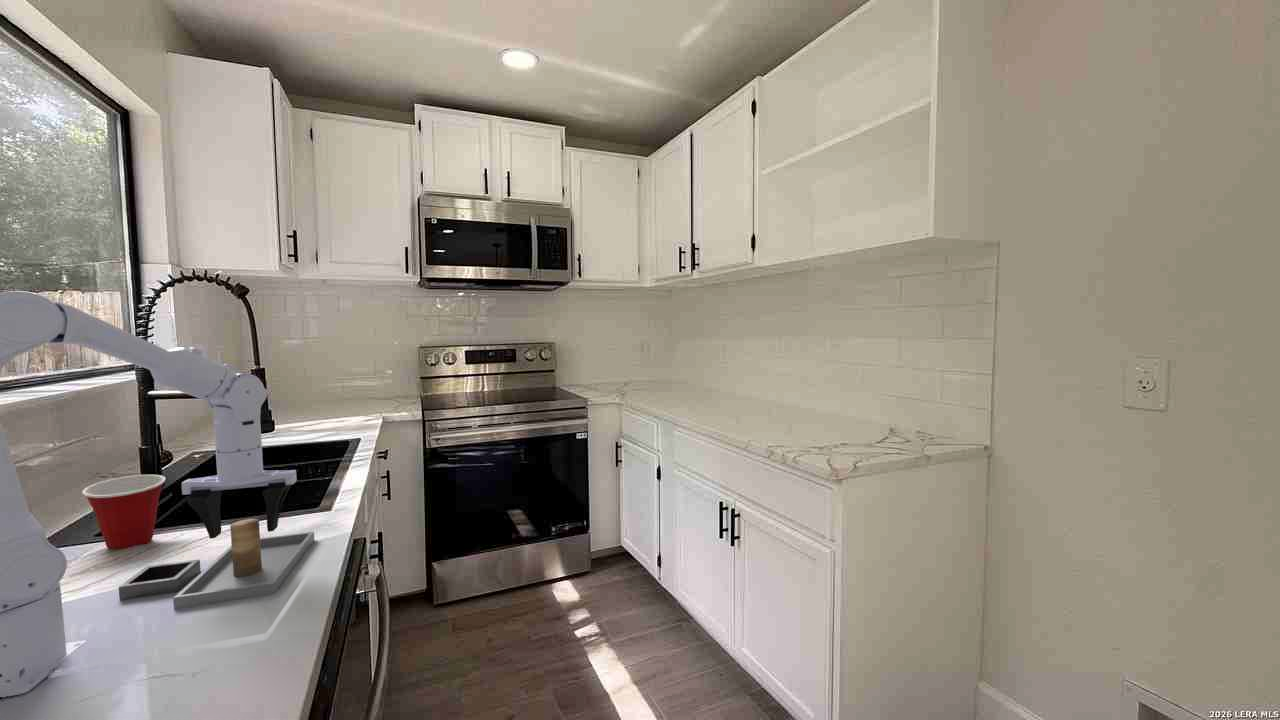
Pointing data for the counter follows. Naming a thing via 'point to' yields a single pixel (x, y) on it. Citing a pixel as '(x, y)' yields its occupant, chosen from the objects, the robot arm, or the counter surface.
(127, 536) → the plastic cup
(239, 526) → the oak dowel
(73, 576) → the counter surface
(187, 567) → the pin holder
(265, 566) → the slate tray
